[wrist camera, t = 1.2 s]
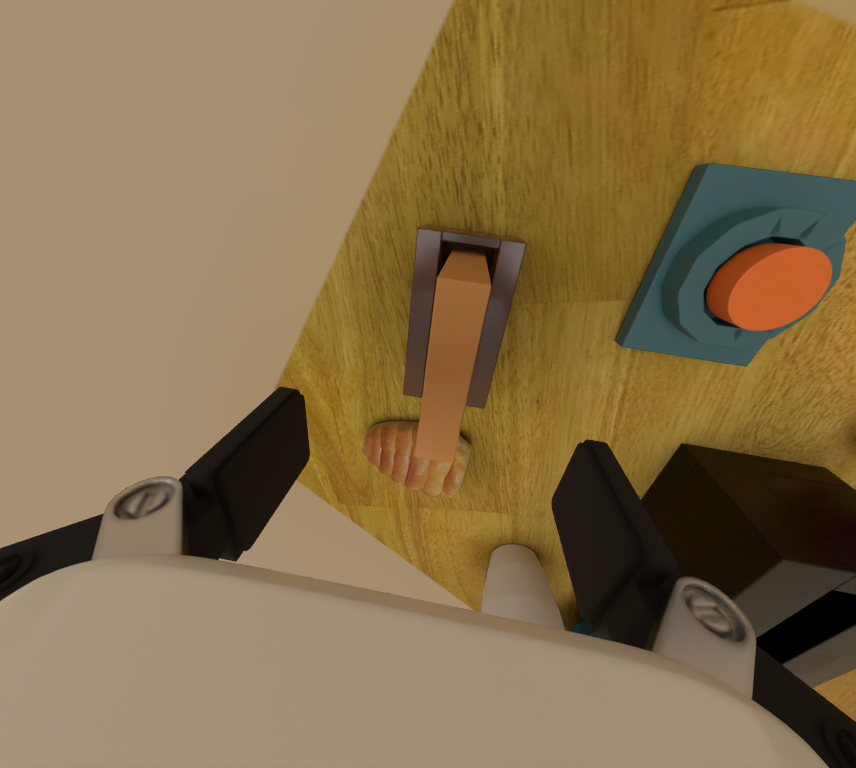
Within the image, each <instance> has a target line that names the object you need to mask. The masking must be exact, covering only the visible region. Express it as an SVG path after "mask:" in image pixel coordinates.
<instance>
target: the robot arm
mask: <svg viewBox="0 0 856 768" xmlns="http://www.w3.org/2000/svg"><path fill="white" fill-rule="evenodd" d="M309 456H310V450H309V440H308V430H307V420H306V410H305V400H304V396H303V395H301V394H300V392H299V390H297V389H291V388H285V387H279V388H278V389H277V390H276V391H274V392H273V393H272V394H271V395H270V396H269V397H268V398H267V399H266V400H265V401H263V402H262V403H261V404H260V405H259V406H258V407H257V408H256V409H254V410H253V412H251V413H250V414H249V415H248V416H247V417H246V418H245V419H243V420H242V421H241V422H240V423H239V424H238V425H237V426H236V427H234V428H233V429H232V430H231V431H230V432H229V433H228V434H227V435H226V436H224V437H223V438H222V439H221V440H220V441H219V442H218V443H217V444H215V445H214V446H213V447H212V448H211V449H210V450H209V451H208V452H207V453H206V454H204V455H203V456H202V457H201V458H200V459H199V460H198V461H197V462H196V463H194V464H193V465H192V466H191V467H190V468H189V469H188V470H187V471H186V472H185V473H186V474H185V475H184V476H183V477H181V478H180V479H179V480H177V479H175V478H172V477H154V478H149V479H146V480H143V481H140V482H137V483H135V484H133V485H131V486H129V487H127V488H125V489H124V490H122V491H121V492H120V493H118V494H117V495H116V496H115V497H114V498H113V499H112V500H111V501H110V502H109V503H108V505H107V507H106V509H105V511H104V514H102V515H98V516H95V517H92V518H89V519H86V520H83V521H80V522H77V523H74V524H71V525H68V526H66V527H62V528H59V529H57V530H53V531H51V532H47V533H44V534H41V535H38V536H35V537H33V538H30V539H27V540H24V541H21V542H18V543H15V544H12V545H9V546H6V547H3V548H1V549H0V768H856V722H855V721H854V720H852V719H851V718H850V717H848V716H847V715H846V714H845V713H843V712H842V711H841V710H839V709H838V708H837V707H836V706H834V705H833V704H832V703H830V702H829V701H828V700H827V699H825V698H824V697H823V696H821V695H820V694H819V693H818V692H816V691H815V690H814V689H812V688H811V687H810V686H809V685H807V684H806V683H805V682H803V681H802V680H801V679H800V678H798V677H797V676H796V675H794V674H793V673H792V672H791V671H789V670H788V669H787V668H785V667H784V666H783V665H782V664H780V663H779V662H778V661H776V660H775V659H774V658H773V657H771V656H770V655H769V654H767V653H766V652H765V651H764V650H762V649H761V648H760V647H758V646H757V645H756V638H755V632H754V630H753V628H752V625H751V623H750V621H749V620H748V618H747V617H746V616H745V614H744V613H743V612H742V610H741V609H740V608H739V607H738V606H737V605H736V604H735V603H734V602H733V601H732V600H731V599H730V598H729V597H728V596H727V595H725V594H724V593H723V592H722V591H720V590H719V589H718V588H716V587H714V586H713V585H711V584H709V583H707V582H706V581H703V580H700V579H697V578H694V577H683V576H682V574H681V573H680V571H679V569H678V564H677V562H676V561H675V559H674V557H673V556H672V554H671V552H670V550H669V549H668V547H667V545H666V544H665V542H664V540H663V538H662V537H661V535H660V533H659V531H658V530H657V528H656V526H655V525H654V523H653V521H652V519H651V518H650V516H649V514H648V513H647V511H646V509H645V507H644V506H643V504H642V502H641V501H640V499H639V497H638V495H637V494H636V492H635V490H634V489H633V487H632V485H631V483H630V482H629V480H628V478H627V477H626V475H625V473H624V471H623V470H622V468H621V466H620V465H619V463H618V461H617V459H616V458H615V456H614V454H613V453H612V451H611V449H610V447H609V446H608V444H607V443H605V442H599V441H594V440H585V441H584V442H583V443H579V444H578V445H577V447H576V449H575V451H574V453H573V455H572V457H571V459H570V462H569V464H568V466H567V468H566V470H565V472H564V474H563V476H562V478H561V481H560V483H559V485H558V487H557V489H556V491H555V493H554V495H553V498H552V511H553V515H554V518H555V522H556V526H557V530H558V533H559V537H560V541H561V544H562V548H563V552H564V556H565V559H566V563H567V567H568V571H569V574H570V578H571V582H572V586H573V589H574V593H575V597H576V601H577V604H578V608H579V612H580V615H581V616H582V618H583V619H584V620H587V623H588V626H589V630H590V634H592V635H597V636H601V637H606V638H610V640H611V641H609V640H605V639H600V638H596V637H592V636H587V635H583V634H579V633H574V632H570V631H566V630H561V629H557V628H552V627H547V626H542V625H538V624H533V623H528V622H523V621H519V620H514V619H509V618H504V617H500V616H495V615H490V614H485V613H481V612H476V611H471V610H466V609H462V608H457V607H452V606H447V605H442V604H437V603H433V602H427V601H423V600H418V599H413V598H408V597H403V596H398V595H393V594H389V593H384V592H379V591H374V590H369V589H364V588H359V587H354V586H349V585H344V584H339V583H334V582H329V581H324V580H319V579H314V578H309V577H304V576H299V575H294V574H289V573H284V572H279V571H274V570H269V569H264V568H259V567H253V566H248V565H242V564H236V563H231V562H225V561H219V560H218V559H219V558H221V559H226V560H231V561H237V560H238V558H239V557H240V555H241V554H242V552H243V551H247V550H249V549H250V548H251V547H252V545H253V544H254V542H255V541H256V539H257V538H258V536H259V535H260V533H261V532H262V530H263V529H264V527H265V526H266V524H267V523H268V521H269V519H270V518H271V517H272V515H273V514H274V512H275V511H276V509H277V508H278V506H279V505H280V503H281V502H282V500H283V499H284V497H285V495H286V494H287V493H288V491H289V490H290V488H291V486H292V485H293V484H294V482H295V481H296V479H297V478H298V476H299V475H300V473H301V472H302V470H303V469H304V467H305V466H306V464H307V462H308V460H309Z"/></svg>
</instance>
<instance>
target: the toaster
mask: <svg viewBox="0 0 856 768" xmlns="http://www.w3.org/2000/svg"><path fill="white" fill-rule="evenodd" d="M641 502H642V504H643V506H644V507H645V509H646V511H647V513H648V514H649V516H650V518H651V519H652V521H653V523H654V525H655V526H656V528H657V530H658V531H659V533H660V535H661V537H662V538H663V540H664V542H665V544H666V545H667V547H668V549H669V550H670V552H671V554H672V556H673V557H674V559H675V561H676V562H677V564H678V569H679V571H680V573H681V574H682V576H683V577H694V578H697V579H700V580H703V581H706V582H707V583H709V584H711V585H713V586H714V587H716V588H718V589H719V590H720V591H722V592H723V593H724V594H725V595H727V596H728V597H729V598H730V599H731V600H732V601H733V602H734V603H735V604H736V605H737V606H738V607H739V608H740V609H741V610H742V612H743V613H744V614H745V616H746V617H747V618H748V620H749V621H750V623H751V625H752V628H753V630H754V632H755V638H756V645H757V646H758V647H760V648H761V649H762V650H764V651H765V652H766V653H767V654H769V655H770V656H771V657H773V658H774V659H775V660H776V661H778V662H779V663H780V664H782V665H783V666H784V667H785V668H787V669H788V670H789V671H791V672H792V673H793V674H794V675H796V676H797V677H798V678H800V679H801V680H802V681H803V682H805V683H806V684H807V685H809V686H810V687H811V688H814V687H816V686H818V685H820V684H823V683H825V682H827V681H829V680H831V679H834V678H836V677H838V676H840V675H843V674H845V673H847V672H849V671H852V670H854V669H856V490H854V489H853V488H852V487H850V486H849V485H848V484H846V483H845V482H844V481H842V480H841V479H840V478H838V477H837V476H836V475H834V474H833V473H832V472H830V471H829V470H828V469H826V468H821V467H816V466H810V465H804V464H798V463H792V462H787V461H781V460H775V459H769V458H763V457H758V456H752V455H746V454H740V453H734V452H729V451H723V450H717V449H711V448H705V447H700V446H694V445H688V444H681V446H680V447H679V449H678V450H677V451H676V453H675V454H674V456H673V457H672V458H671V460H670V461H669V462H668V464H667V465H666V467H665V468H664V469H663V471H662V472H661V474H660V475H659V476H658V478H657V479H656V480H655V482H654V483H653V485H652V486H651V487H650V489H649V490H648V492H647V493H646V494H645V496H644V497H643V499H642V500H641Z"/></svg>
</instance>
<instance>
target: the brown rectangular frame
mask: <svg viewBox="0 0 856 768" xmlns="http://www.w3.org/2000/svg"><path fill="white" fill-rule="evenodd" d="M445 241H447V242H454V243H461V244H468V245H475V246H482V247H489V248H495V251H494V256H493V261H492V265H491V270H490V275H489V276H490V282H491V291H490V296H489V300H488V305H487V310H486V314H485V319H484V323H483V328H482V333H481V337H480V342H479V346H478V351H477V355H476V360H475V365H474V369H473V374H472V378H471V383H470V388H469V392H468V397H467V401H466V406H472V407H478V408H485V404H486V400H487V396H488V393H489V389H490V385H491V381H492V377H493V373H494V369H495V365H496V362H497V358H498V354H499V350H500V346H501V342H502V338H503V335H504V331H505V327H506V323H507V319H508V315H509V311H510V307H511V304H512V300H513V296H514V292H515V288H516V284H517V280H518V277H519V273H520V269H521V265H522V261H523V257H524V253H525V249H526V246H527V243H526V242H525V241H523V240H522V239H521V238H518V237H511V236H504V235H497V234H489V233H482V232H475V231H468V230H461V229H454V228H446V227H439V226H432V225H424V226H421V227H418V228H417V239H416V250H415V262H414V273H413V284H412V296H411V307H410V319H409V330H408V342H407V353H406V365H405V376H404V388H403V395H408V396H414V397H420V398H421V397H422V394H423V386H424V378H425V370H426V362H427V354H428V347H429V339H430V331H431V323H432V315H433V307H434V299H435V291H436V283H437V278H438V276H439V274H440V272H441V269H442V261H443V254H444V246H445Z"/></svg>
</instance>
